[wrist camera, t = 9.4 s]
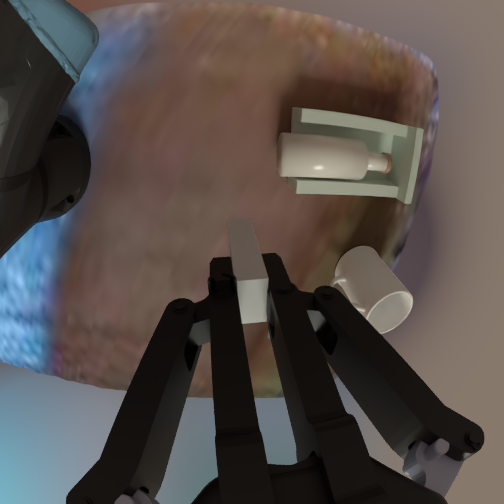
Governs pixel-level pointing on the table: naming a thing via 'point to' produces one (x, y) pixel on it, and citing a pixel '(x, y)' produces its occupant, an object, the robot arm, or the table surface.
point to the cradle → (377, 140)
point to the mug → (373, 288)
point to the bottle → (327, 157)
